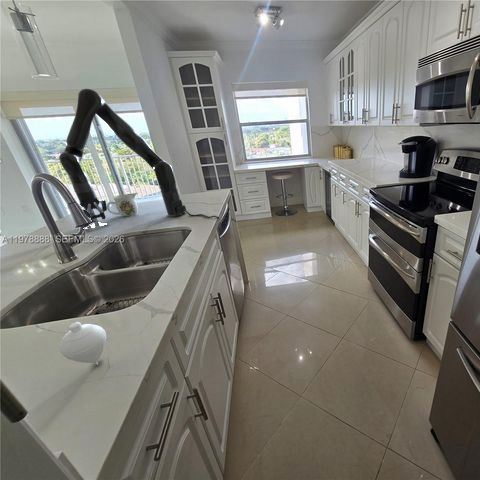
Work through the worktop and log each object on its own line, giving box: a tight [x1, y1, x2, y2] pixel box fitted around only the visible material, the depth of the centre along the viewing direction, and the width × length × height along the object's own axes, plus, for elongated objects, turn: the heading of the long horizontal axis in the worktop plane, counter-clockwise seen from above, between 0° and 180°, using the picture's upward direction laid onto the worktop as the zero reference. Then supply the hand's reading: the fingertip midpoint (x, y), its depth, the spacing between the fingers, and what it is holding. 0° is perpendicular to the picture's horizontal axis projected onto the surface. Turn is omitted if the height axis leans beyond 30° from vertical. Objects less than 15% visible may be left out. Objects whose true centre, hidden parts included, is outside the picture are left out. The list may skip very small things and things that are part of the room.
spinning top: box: [59, 321, 107, 366], centre depth 57 cm, size 8×8×12 cm
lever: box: [83, 207, 102, 219], centre depth 144 cm, size 12×5×2 cm, turn 62°
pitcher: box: [106, 192, 139, 217], centre depth 164 cm, size 11×18×14 cm, turn 126°
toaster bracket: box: [85, 209, 107, 231], centre depth 148 cm, size 12×9×12 cm
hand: (97, 220), depth 144 cm, fingers closed on lever, 5 cm apart
